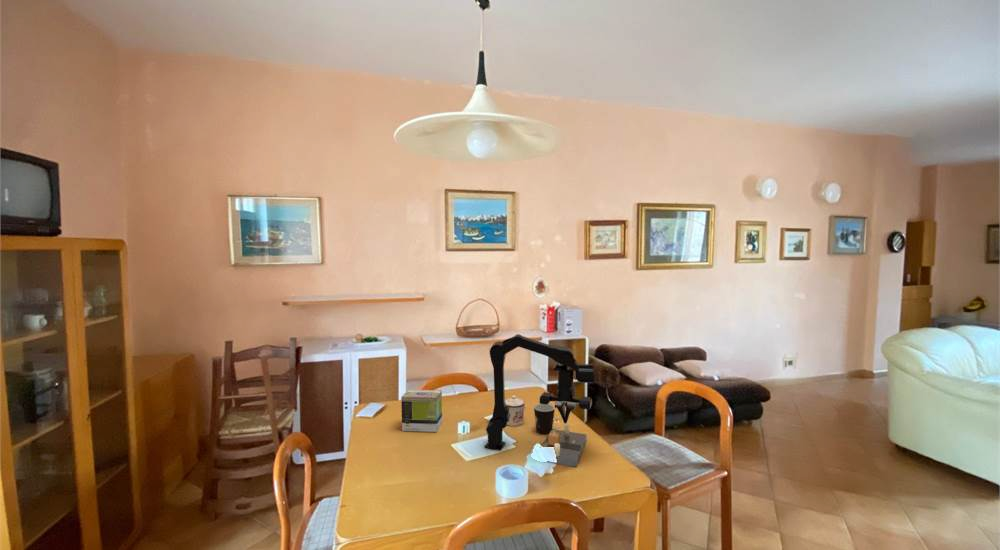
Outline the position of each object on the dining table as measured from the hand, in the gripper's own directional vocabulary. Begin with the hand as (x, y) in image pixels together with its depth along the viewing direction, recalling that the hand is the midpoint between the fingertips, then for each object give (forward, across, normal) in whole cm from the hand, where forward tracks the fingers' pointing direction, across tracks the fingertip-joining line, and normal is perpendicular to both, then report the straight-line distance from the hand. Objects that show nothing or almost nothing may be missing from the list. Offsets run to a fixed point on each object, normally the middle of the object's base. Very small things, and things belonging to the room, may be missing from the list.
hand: (565, 423), depth 155 cm
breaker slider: (+7, +4, +2) cm, 9 cm away
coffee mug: (+10, +12, -15) cm, 22 cm away
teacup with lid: (+10, +26, -19) cm, 34 cm away
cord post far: (+8, +1, -7) cm, 10 cm away
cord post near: (+8, +1, +10) cm, 13 cm away
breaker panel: (+10, +1, 0) cm, 10 cm away
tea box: (+10, +61, +1) cm, 62 cm away
